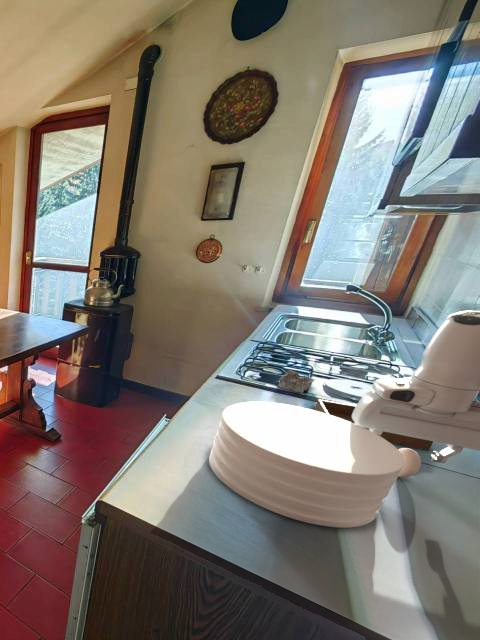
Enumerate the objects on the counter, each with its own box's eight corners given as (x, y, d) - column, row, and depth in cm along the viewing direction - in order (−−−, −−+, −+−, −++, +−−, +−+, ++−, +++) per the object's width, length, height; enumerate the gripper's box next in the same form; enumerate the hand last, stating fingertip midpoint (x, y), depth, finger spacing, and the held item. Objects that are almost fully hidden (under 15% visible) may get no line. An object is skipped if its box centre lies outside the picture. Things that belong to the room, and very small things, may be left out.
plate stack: (180, 457, 89) (192, 413, 85) (261, 435, 99) (276, 394, 94) (320, 545, 65) (346, 490, 61) (409, 504, 75) (438, 454, 70)
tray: (405, 425, 104) (410, 415, 103) (428, 450, 93) (434, 439, 92) (314, 408, 113) (318, 399, 112) (325, 429, 102) (329, 419, 100)
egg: (391, 467, 86) (405, 442, 83) (418, 481, 82) (433, 454, 79) (374, 470, 85) (387, 444, 83) (401, 484, 81) (416, 457, 78)
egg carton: (287, 379, 133) (291, 368, 132) (314, 387, 127) (319, 375, 126) (273, 386, 128) (277, 374, 126) (301, 394, 122) (305, 382, 120)
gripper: (507, 401, 74) (468, 462, 79) (364, 378, 83) (338, 434, 89) (528, 414, 69) (486, 478, 74) (374, 388, 78) (346, 447, 84)
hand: (404, 454), depth 82 cm, fingers open, 8 cm apart
